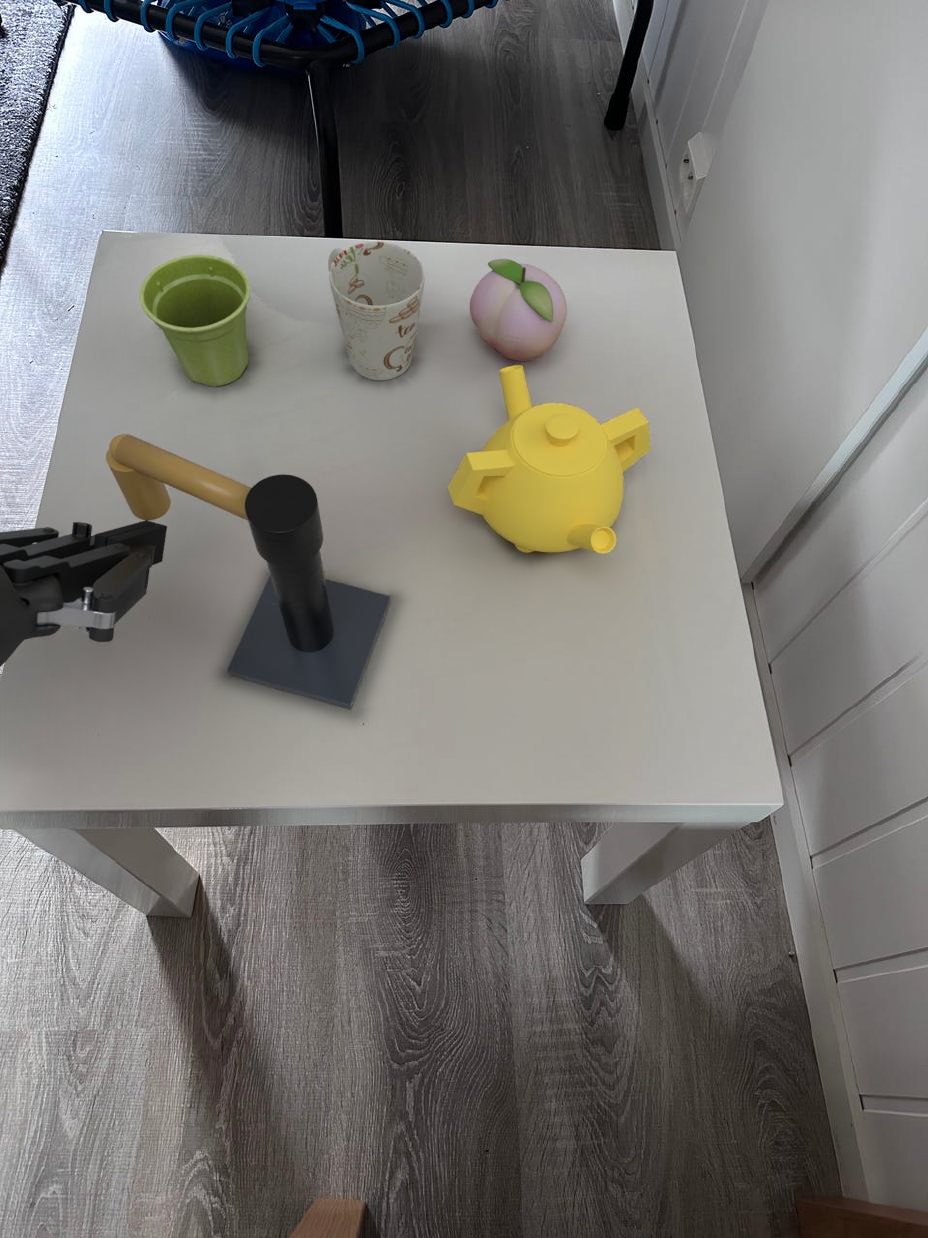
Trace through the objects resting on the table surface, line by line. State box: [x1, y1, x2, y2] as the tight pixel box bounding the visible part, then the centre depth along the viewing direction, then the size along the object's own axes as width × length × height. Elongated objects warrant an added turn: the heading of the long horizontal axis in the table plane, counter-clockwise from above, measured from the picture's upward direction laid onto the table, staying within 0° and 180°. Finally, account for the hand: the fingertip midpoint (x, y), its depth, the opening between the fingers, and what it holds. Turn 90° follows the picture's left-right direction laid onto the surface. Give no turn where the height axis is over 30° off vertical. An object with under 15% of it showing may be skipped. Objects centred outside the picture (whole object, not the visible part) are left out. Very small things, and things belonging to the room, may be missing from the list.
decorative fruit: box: [469, 258, 568, 361], centre depth 80 cm, size 9×8×10 cm
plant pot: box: [139, 254, 251, 387], centre depth 77 cm, size 9×9×9 cm
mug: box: [327, 241, 426, 381], centre depth 79 cm, size 8×13×10 cm, turn 39°
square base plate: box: [226, 549, 391, 711], centre depth 62 cm, size 10×10×14 cm
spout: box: [105, 433, 324, 567], centre depth 56 cm, size 16×4×8 cm, turn 65°
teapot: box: [447, 364, 651, 555], centre depth 70 cm, size 20×18×11 cm
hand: (154, 541), depth 61 cm, fingers closed
